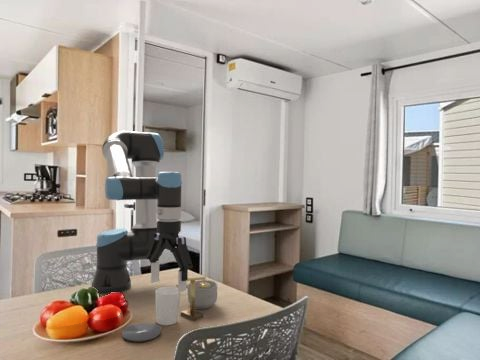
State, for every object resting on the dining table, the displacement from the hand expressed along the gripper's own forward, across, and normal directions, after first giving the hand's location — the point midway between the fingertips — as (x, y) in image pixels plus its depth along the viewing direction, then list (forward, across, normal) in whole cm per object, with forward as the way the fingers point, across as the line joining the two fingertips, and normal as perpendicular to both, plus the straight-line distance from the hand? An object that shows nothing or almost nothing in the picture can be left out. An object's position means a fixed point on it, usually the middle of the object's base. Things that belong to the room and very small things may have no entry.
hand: (168, 286), depth 116 cm
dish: (+12, +2, -11) cm, 16 cm away
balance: (+11, +2, +8) cm, 14 cm away
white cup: (+12, 0, 0) cm, 12 cm away
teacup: (+12, -2, +18) cm, 22 cm away
